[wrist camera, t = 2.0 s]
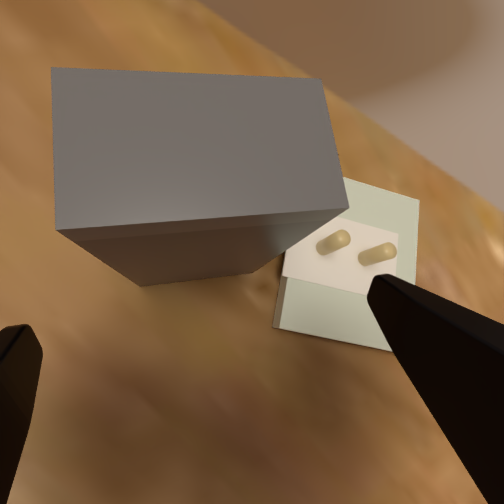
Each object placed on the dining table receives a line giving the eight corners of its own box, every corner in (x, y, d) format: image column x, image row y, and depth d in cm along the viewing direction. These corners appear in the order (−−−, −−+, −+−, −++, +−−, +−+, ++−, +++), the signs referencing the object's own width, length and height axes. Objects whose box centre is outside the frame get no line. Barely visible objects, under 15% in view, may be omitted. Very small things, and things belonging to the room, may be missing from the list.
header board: (395, 352, 20) (445, 360, 16) (266, 326, 19) (287, 328, 15) (404, 207, 23) (449, 185, 19) (293, 174, 22) (316, 142, 18)
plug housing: (252, 272, 19) (349, 207, 8) (140, 286, 18) (55, 229, 6) (243, 214, 20) (321, 78, 9) (135, 223, 18) (50, 67, 7)
